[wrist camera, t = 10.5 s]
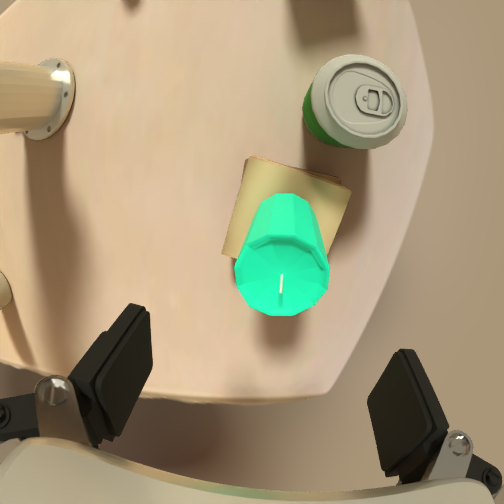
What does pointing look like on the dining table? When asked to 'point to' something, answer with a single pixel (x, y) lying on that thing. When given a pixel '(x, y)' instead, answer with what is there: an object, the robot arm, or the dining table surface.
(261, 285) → the candle
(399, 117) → the soda can
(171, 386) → the dining table surface
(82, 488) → the robot arm
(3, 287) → the travel mug
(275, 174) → the oak block
